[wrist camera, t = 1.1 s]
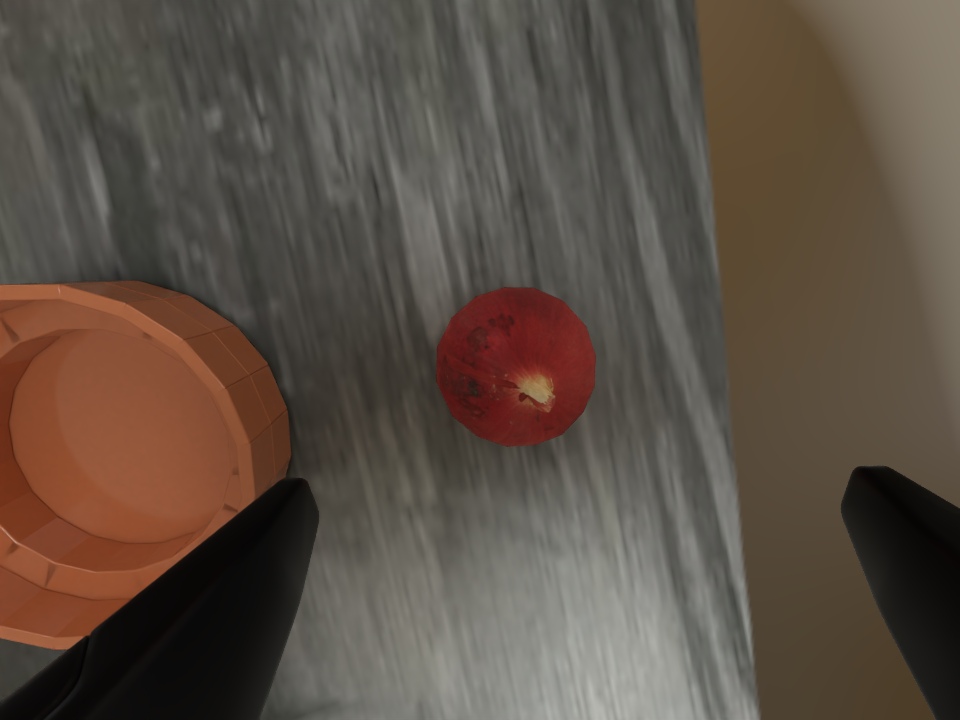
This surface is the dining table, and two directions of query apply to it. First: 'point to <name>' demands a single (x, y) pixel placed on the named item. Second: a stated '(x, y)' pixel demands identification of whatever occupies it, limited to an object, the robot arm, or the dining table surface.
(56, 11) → the dining table surface
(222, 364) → the bowl
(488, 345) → the onion
